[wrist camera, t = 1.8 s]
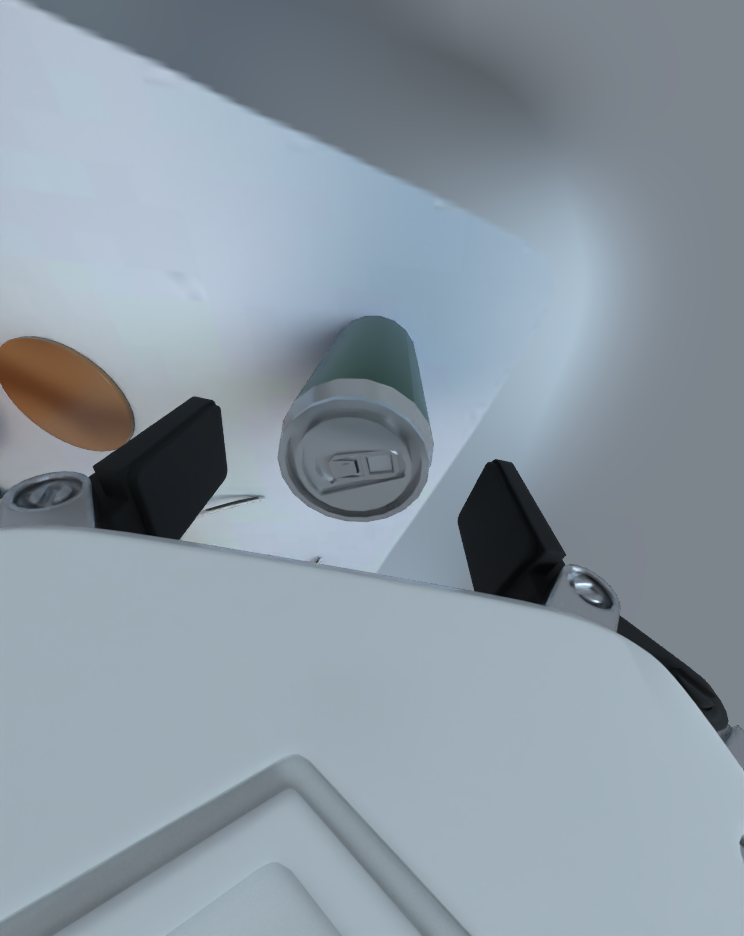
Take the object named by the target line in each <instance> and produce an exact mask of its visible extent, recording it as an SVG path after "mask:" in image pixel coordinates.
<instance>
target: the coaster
mask: <svg viewBox="0 0 744 936" xmlns="http://www.w3.org/2000/svg"><path fill="white" fill-rule="evenodd" d="M0 383H1V385H2V387H3V389H4V390H5V392H6V393H7V395H8V396H9V398H10V399H11V400H12V402H13V403H14V404H15V405H16V406H17V407H18V408H19V409H20V411H21V412H23V413H24V414H25V415H26V416H27V417H28V418H29V419H30V420H31V421H33V422H34V423H35V424H36V425H38V426H39V427H40V428H42V429H43V430H45V431H46V432H48V433H49V434H51V435H53V436H54V437H56V438H58V439H60V440H62V441H64V442H66V443H69V444H71V445H74V446H76V447H80V448H83V449H87V450H92V451H111V450H115V449H117V448H120V447H121V446H123V445H124V444H126V443H127V442H128V441H129V440H130V438H131V437H132V434H133V431H134V418H133V414H132V410H131V408H130V405H129V403H128V401H127V400H126V398H125V396H124V395H123V393H122V392H121V390H120V389H119V388H118V386H117V385H116V384H115V383H114V381H113V380H112V379H111V378H110V377H109V376H108V375H107V374H106V373H105V372H104V371H103V370H102V369H100V368H99V367H98V366H97V365H96V364H94V363H93V362H92V361H90V360H89V359H87V358H86V357H85V356H83V355H82V354H80V353H78V352H76V351H75V350H73V349H71V348H69V347H67V346H65V345H63V344H60V343H57V342H55V341H52V340H48V339H44V338H38V337H20V338H15V339H12V340H9V341H7V342H5V343H4V344H2V345H1V347H0Z"/></svg>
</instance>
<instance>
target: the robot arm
mask: <svg viewBox="0 0 744 936" xmlns="http://www.w3.org/2000/svg"><path fill="white" fill-rule="evenodd" d="M93 468H94V470H95V473H94V474H92V475H91V476H90V477H87V476H85V475H84V474H81V473H77V472H67V471H61V472H52V473H47V474H42V475H38V476H35V477H32V478H29V479H27V480H24V481H22V482H20V483H18V484H17V485H15V486H13V487H12V488H11V489H9V490H8V491H7V492H6V493H5V494H4V496H3V498H2V499H1V503H0V936H744V730H743V729H742V728H741V727H740V726H739V725H737V726H734V727H731V726H730V725H729V724H728V717H727V713H726V710H725V708H724V706H723V704H722V702H721V700H720V699H719V698H718V696H717V695H716V693H715V692H714V691H713V689H712V688H711V686H710V685H709V684H708V683H707V682H706V681H705V680H704V679H703V678H702V677H701V676H700V675H698V674H697V673H696V672H695V671H693V670H692V669H691V668H690V667H688V666H687V665H686V664H684V663H683V662H682V661H680V660H679V659H678V658H676V657H675V656H674V655H672V654H671V653H670V652H668V651H667V650H666V649H664V648H663V647H662V646H660V645H659V644H658V643H656V642H655V641H653V640H652V639H651V638H649V637H648V636H647V635H645V634H644V633H643V632H641V631H640V630H639V629H637V628H636V627H635V626H633V625H632V624H631V623H629V622H628V621H627V620H625V619H624V618H622V617H621V616H620V609H621V608H620V601H619V599H618V597H617V594H616V593H615V592H614V590H613V589H612V588H611V586H610V585H608V583H607V582H606V581H605V580H604V579H602V578H601V577H600V576H598V575H597V574H596V573H594V572H593V571H591V570H589V569H587V568H585V567H582V566H579V565H574V564H569V565H565V564H564V562H563V560H562V559H563V558H564V557H565V556H566V554H565V552H564V550H563V549H562V547H561V545H560V543H559V542H558V540H557V538H556V537H555V535H554V533H553V531H552V530H551V528H550V526H549V525H548V523H547V521H546V519H545V518H544V516H543V514H542V513H541V511H540V509H539V508H538V506H537V504H536V502H535V501H534V499H533V497H532V496H531V494H530V492H529V490H528V489H527V487H526V485H525V483H524V482H523V480H522V478H521V477H520V475H519V473H518V471H517V470H516V468H515V466H514V465H513V463H511V462H507V461H502V460H497V459H495V460H493V461H492V462H488V463H487V464H486V465H485V467H484V469H483V471H482V473H481V475H480V476H479V478H478V480H477V482H476V484H475V486H474V488H473V490H472V492H471V493H470V495H469V497H468V499H467V501H466V503H465V504H464V507H463V508H462V510H461V512H460V514H459V517H458V526H459V530H460V534H461V538H462V542H463V547H464V551H465V554H466V559H467V562H468V567H469V571H470V575H471V579H472V583H473V587H474V591H471V590H465V589H460V588H454V587H448V586H443V585H437V584H432V583H426V582H420V581H415V580H409V579H404V578H398V577H392V576H387V575H381V574H376V573H370V572H364V571H358V570H353V569H347V568H341V567H335V566H330V565H324V564H318V563H312V562H306V561H301V560H295V559H289V558H283V557H277V556H271V555H265V554H260V553H254V552H248V551H242V550H236V549H230V548H224V547H218V546H212V545H206V544H200V543H194V542H188V541H182V540H179V539H180V538H181V537H182V536H183V534H184V533H185V532H186V530H187V529H188V528H189V526H190V525H191V524H192V522H193V521H194V520H195V518H196V517H197V516H198V514H199V513H200V512H201V510H202V509H203V508H204V506H205V505H206V504H207V502H208V501H209V500H210V498H211V497H212V496H213V494H214V493H215V492H216V490H217V489H218V488H219V487H220V485H221V484H222V483H223V481H224V480H225V478H226V475H227V462H226V453H225V444H224V435H223V426H222V417H221V409H220V407H219V406H217V405H216V404H215V402H214V401H213V400H209V399H205V398H200V397H191V398H190V399H189V400H187V401H186V402H184V403H183V404H181V405H180V406H179V407H177V408H176V409H174V410H173V411H171V412H170V413H169V414H167V415H166V416H164V417H163V418H161V419H160V420H159V421H157V422H156V423H154V424H153V425H151V426H150V427H148V428H147V429H146V430H144V431H143V432H141V433H140V434H138V435H137V436H136V437H134V438H133V439H131V440H130V441H128V442H127V443H126V444H124V445H123V446H121V447H120V448H118V449H117V450H115V451H114V452H113V453H111V454H110V455H108V456H107V457H105V458H104V459H103V460H101V461H100V462H98V463H97V464H95V465H94V466H93Z"/></svg>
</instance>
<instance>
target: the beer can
mask: <svg viewBox="0 0 744 936" xmlns="http://www.w3.org/2000/svg"><path fill="white" fill-rule="evenodd" d="M433 446H434V443H433V438H432V433H431V428H430V423H429V418H428V412H427V407H426V402H425V397H424V392H423V387H422V382H421V377H420V371H419V366H418V361H417V356H416V352H415V348H414V344H413V341H412V340H411V338H410V336H409V335H408V333H407V332H406V330H405V329H404V328H402V327H401V326H400V325H399V324H398V323H396V322H395V321H393V320H391V319H388V318H385V317H382V316H364V317H362V318H359V319H356V320H353V321H352V322H351V323H349V324H348V325H347V326H346V327H345V328H343V329H342V330H341V332H340V333H339V335H338V336H337V338H336V339H335V341H334V342H333V344H332V345H331V347H330V348H329V350H328V351H327V353H326V354H325V356H324V357H323V359H322V360H321V362H320V363H319V365H318V366H317V368H316V369H315V371H314V372H313V374H312V375H311V377H310V378H309V380H308V381H307V383H306V384H305V386H304V387H303V389H302V390H301V392H300V393H299V395H298V396H297V398H296V399H295V401H294V403H293V404H292V406H291V408H290V409H289V411H288V413H287V415H286V416H285V418H284V420H283V425H282V432H281V439H280V444H279V452H278V462H279V466H280V470H281V474H282V477H283V479H284V480H285V482H286V483H287V485H288V487H289V488H290V490H291V491H292V493H293V494H294V495H295V496H297V497H298V498H299V499H300V500H301V501H302V502H303V503H305V504H306V505H307V506H308V507H310V508H312V509H314V510H316V511H318V512H320V513H322V514H324V515H325V516H328V517H332V518H336V519H340V520H344V521H356V522H369V521H374V520H379V519H385V518H388V517H390V516H392V515H394V514H396V513H399V512H401V511H403V510H404V509H406V508H407V507H408V506H409V505H410V504H411V503H412V502H414V501H415V500H416V499H417V498H418V497H419V495H420V493H421V491H422V490H423V488H424V486H425V484H426V482H427V478H428V470H429V467H430V465H431V461H432V453H433Z"/></svg>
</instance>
